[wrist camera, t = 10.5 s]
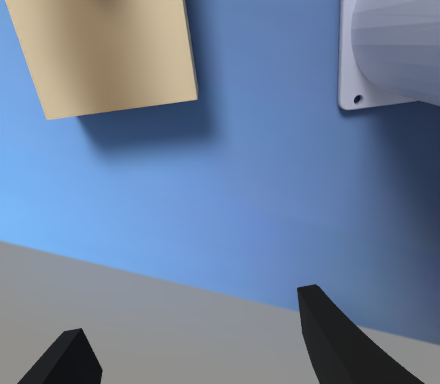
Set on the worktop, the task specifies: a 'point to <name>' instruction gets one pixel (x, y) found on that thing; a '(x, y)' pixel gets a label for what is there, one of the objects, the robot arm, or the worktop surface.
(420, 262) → the worktop surface
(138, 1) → the body
